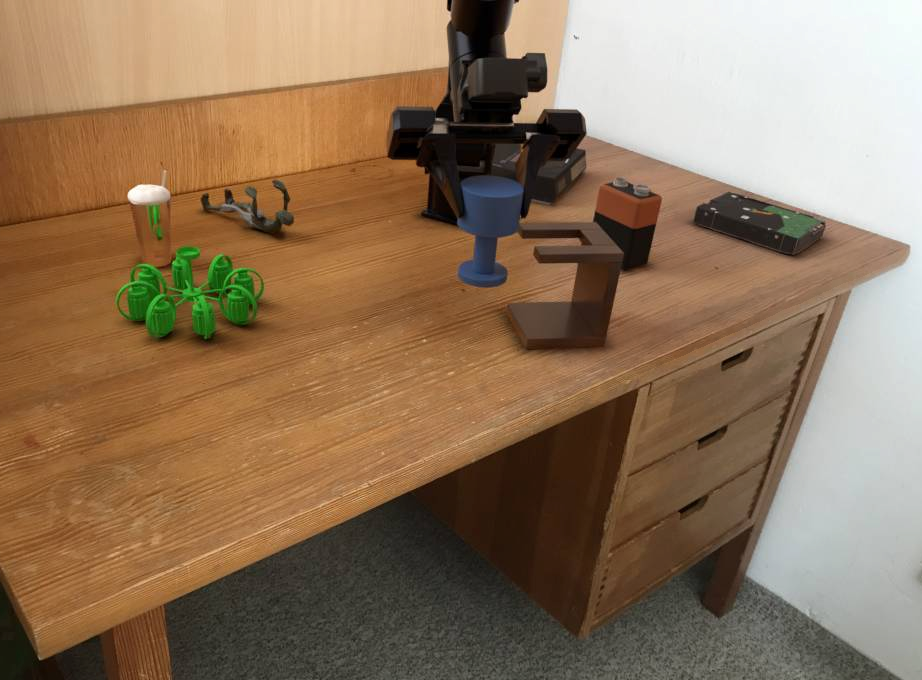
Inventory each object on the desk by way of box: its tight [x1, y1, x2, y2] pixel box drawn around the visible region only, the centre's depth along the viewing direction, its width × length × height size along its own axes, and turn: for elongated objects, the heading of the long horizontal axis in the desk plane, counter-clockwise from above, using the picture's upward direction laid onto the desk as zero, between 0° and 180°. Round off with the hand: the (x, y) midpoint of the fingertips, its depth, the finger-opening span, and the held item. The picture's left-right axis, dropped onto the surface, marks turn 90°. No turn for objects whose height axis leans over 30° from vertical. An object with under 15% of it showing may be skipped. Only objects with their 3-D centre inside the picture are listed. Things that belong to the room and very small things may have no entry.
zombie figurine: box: [200, 179, 295, 235], centre depth 105 cm, size 5×7×15 cm
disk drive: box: [693, 191, 827, 256], centre depth 115 cm, size 10×3×15 cm
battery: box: [592, 176, 663, 271], centre depth 102 cm, size 4×7×10 cm, turn 35°
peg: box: [457, 175, 524, 289], centre depth 80 cm, size 6×6×10 cm
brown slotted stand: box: [505, 221, 624, 350], centre depth 85 cm, size 8×8×10 cm
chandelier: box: [115, 246, 265, 340], centre depth 84 cm, size 15×15×7 cm
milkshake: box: [127, 170, 172, 269], centre depth 94 cm, size 4×5×10 cm
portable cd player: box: [481, 144, 587, 206], centre depth 128 cm, size 16×17×4 cm
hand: (492, 216), depth 78 cm, fingers closed on peg, 6 cm apart
